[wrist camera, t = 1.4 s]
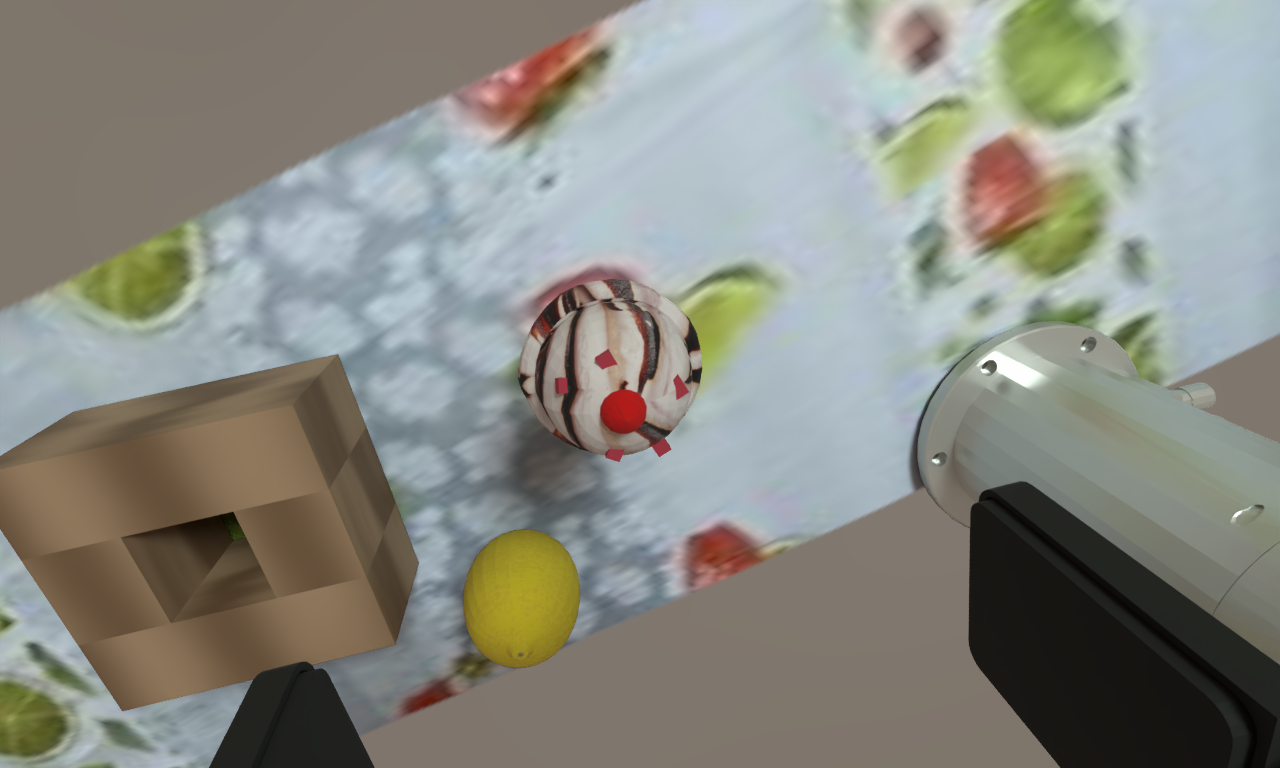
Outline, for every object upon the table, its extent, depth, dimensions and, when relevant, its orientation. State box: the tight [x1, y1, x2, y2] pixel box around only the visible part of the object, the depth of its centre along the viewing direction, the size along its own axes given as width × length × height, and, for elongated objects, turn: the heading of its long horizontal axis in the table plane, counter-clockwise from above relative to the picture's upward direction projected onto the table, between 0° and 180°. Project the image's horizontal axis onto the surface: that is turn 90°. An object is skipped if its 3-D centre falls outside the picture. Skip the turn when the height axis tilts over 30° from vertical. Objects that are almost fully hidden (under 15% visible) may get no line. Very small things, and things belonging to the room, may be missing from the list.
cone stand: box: [0, 354, 419, 711], centre depth 30 cm, size 12×12×6 cm
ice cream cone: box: [518, 279, 702, 462], centre depth 24 cm, size 6×6×15 cm
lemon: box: [463, 529, 580, 668], centre depth 32 cm, size 6×6×8 cm
